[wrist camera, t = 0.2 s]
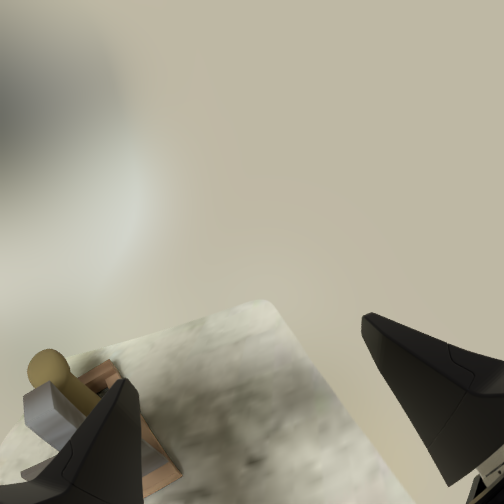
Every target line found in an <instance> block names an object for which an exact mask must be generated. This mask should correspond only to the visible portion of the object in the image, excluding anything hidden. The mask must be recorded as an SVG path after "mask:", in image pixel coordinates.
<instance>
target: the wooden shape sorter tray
mask: <svg viewBox="0 0 504 504" xmlns="http://www.w3.org/2000/svg"><path fill="white" fill-rule="evenodd" d="M78 379H79V380H80V381H81V382H82V383H83V384H84V385H86V386H87V387H88V388H89V389H90V390H92V391H93V392H94V393H95V394H96V393H98V392H100V391H101V390H103V389H105V388H106V387H108V388H109V389H110V387H111V386H112V385H113V384H114V383H115V381H116V380H117V379H122V378H121V376H120V374H119V372H118V370H117V369H116V367H115V366H114V365H113V363H112V362H111V361H110V359H108V360H107V361H105V362H103V363H102V364H100V365H99V366H97V367H95V368H94V369H92V370H90V371H89V372H87V373H85V374H84V375H82V376H80V377H78ZM23 402H24V418H25V425H26V426H28V427H29V428H30V429H31V430H32V431H33V432H35V433H36V434H37V435H38V436H39V437H41V438H42V439H43V440H45V441H46V442H47V443H48V444H50V445H51V446H52V447H54V448H55V449H56V450H58V451H59V452H60V450H61V449H62V448H63V447H64V445H65V444H66V443H67V442H68V440H69V439H70V438H71V437H72V435H73V434H74V433H75V431H76V430H77V429H78V428H79V426H80V425H81V424H82V422H83V421H84V420H85V419H86V416H84V415H83V414H82V413H81V412H80V411H79V410H78V409H77V408H76V407H75V406H74V405H73V404H72V403H71V402H70V401H69V400H68V399H67V398H66V397H65V396H64V395H63V394H62V393H61V392H60V391H59V390H58V389H57V388H56V387H55V385H54V384H53V383H52V382H51V381H50V380H49V381H47V382H46V383H44V384H42V385H41V386H39V387H37V388H36V389H34V390H33V391H31V392H29V393H27V394H26V395H24V396H23ZM140 417H141V432H142V437H141V452H142V485H143V498H145V497H147V496H149V495H151V494H152V493H154V492H156V491H158V490H160V489H161V488H163V487H165V486H167V485H168V484H170V483H172V482H174V481H175V480H177V479H179V478H180V477H182V476H183V475H182V474H181V473H180V472H179V470H178V469H177V468H176V466H175V465H174V464H173V462H172V461H171V459H170V458H169V457H168V455H167V454H166V452H165V451H164V450H163V448H162V447H161V445H160V444H159V442H158V441H157V439H156V438H155V436H154V434H153V433H152V431H151V430H150V428H149V427H148V425H147V423H146V422H145V420H144V418H143V417H142V415H141V413H140ZM54 457H55V456H54ZM54 457H52V458H49V459H47V460H45V461H43V462H41V463H39V464H37V465H35V466H32V467H30V468H28V469H26V470H23V471H21V477H22V478H23V479H25V480H27V481H30V480H32V479H34V478H35V477H37V476H38V475H39V474H40V473H41V471H42V470H43V469H44V468H45V467H46V466H47V465H48V464H49V463H50V462H51V461H52V460H53V459H54Z"/></svg>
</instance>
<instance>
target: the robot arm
mask: <svg viewBox="0 0 504 504" xmlns="http://www.w3.org/2000/svg"><path fill="white" fill-rule="evenodd" d="M361 325H362V326H361V333H362V337H363V339H364V341H365V343H366V345H367V347H368V349H369V351H370V353H371V355H372V358H373V360H374V362H375V364H376V366H377V368H378V369H379V371H380V373H381V374H382V376H383V377H384V379H385V381H386V382H387V384H388V385H389V387H390V388H391V390H392V392H393V393H394V395H395V396H396V398H397V400H398V401H399V403H400V404H401V406H402V408H403V409H404V411H405V412H406V414H407V416H408V418H409V419H410V421H411V423H412V424H413V426H414V428H415V429H416V431H417V433H418V434H419V436H420V438H421V439H422V441H423V443H424V445H425V446H426V448H428V452H429V453H430V455H431V457H432V459H433V460H434V462H435V464H436V466H437V468H438V469H439V471H440V473H441V475H442V477H443V479H444V480H445V482H446V484H447V486H448V487H450V486H451V485H453V484H454V483H456V482H457V481H459V480H460V479H462V478H463V477H464V476H466V475H467V474H469V473H470V472H471V471H472V470H474V469H475V468H476V469H477V471H478V472H479V474H478V475H477V476H476V477H475V478H474V480H473V484H472V487H471V490H470V493H469V496H468V499H467V502H466V504H504V361H502V360H498V359H495V358H491V357H487V356H484V355H480V354H477V353H474V352H470V351H467V350H465V349H462V348H459V347H456V346H454V345H451V344H447V343H446V342H444V341H441V340H439V339H436V338H434V337H431V336H429V335H427V334H424V333H422V332H419V331H417V330H414V329H412V328H410V327H407V326H405V325H402V324H400V323H397V322H395V321H393V320H390V319H388V318H385V317H383V316H380V315H378V314H376V313H372V312H371V313H368V314H366V315H363V317H362V324H361ZM141 437H142V432H141V417H140V404H139V394H138V391H137V390H136V389H135V387H134V386H133V385H132V383H131V382H130V381H129V380H128V379H127V378H122V379H117V380H116V381H115V383H114V384H113V385H112V386H111V387H110V389H109V390H108V391H107V392H106V394H105V395H104V396H103V397H102V399H101V400H100V401H99V402H98V404H97V405H96V406H95V407H94V409H93V410H92V411H91V412H90V414H89V415H88V416H87V417H86V419H85V420H84V421H83V422H82V424H81V425H80V426H79V428H78V429H77V430H76V431H75V433H74V434H73V435H72V437H71V438H70V439H69V440H68V442H67V443H66V444H65V445H64V447H63V448H62V449H61V450H60V452H59V453H58V454H57V455H56V456H55V457H54V459H53V460H52V461H51V462H50V463H49V464H48V465H47V466H46V467H45V468H44V469H43V470H42V471H41V473H40V474H39V475H38V476H37V477H35V478H34V479H32V480H30V481H28V482H23V483H16V484H9V485H0V504H144V500H143V485H142V452H141Z"/></svg>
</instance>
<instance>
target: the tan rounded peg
mask: <svg viewBox="0 0 504 504" xmlns="http://www.w3.org/2000/svg"><path fill="white" fill-rule="evenodd" d="M27 374H28V378H29V381H30V383H31V384H32V386H33V387H34V388H35V389H36V388H37V387H39V386H41V385H42V384H44V383H46V382H47V381H49V380H50V381H51V382H52V383H53V384H54V385H55V387H56V388H57V389H58V390H59V391H60V392H61V393H62V394H63V395H64V396H65V397H66V398H67V399H68V400H69V401H70V402H71V403H72V404H73V405H74V406H75V407H76V408H77V409H78V410H79V411H80V412H81V413H82V414H83V415H84V416H86V417H87V416H88V415H89V414H90V412H91V411H92V410H93V409H94V407H95V406H96V405H97V404H98V402H99V401H100V400H101V398H100V397H99V396H98V395H96V394H95V393H94V392H93V391H92V390H90V389H89V388H88V387H87V386H86V385H84V384H83V383H82V382H81V381H80V380H79V379H78V378H76V377H75V376H74V375H73V374H72V373H71V372H70V367H69V365H68V363H67V361H66V359H65V358H64V356H63V355H62V354H60V353H59V352H58V351H56V350H53V349H46V350H42V351H41V352H39V353H37V354H36V355H35V356H34V357H33V358H32V360H31V361H30V363H29V365H28V369H27Z"/></svg>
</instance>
